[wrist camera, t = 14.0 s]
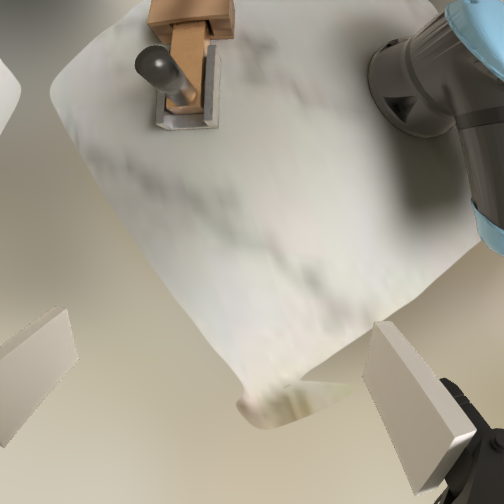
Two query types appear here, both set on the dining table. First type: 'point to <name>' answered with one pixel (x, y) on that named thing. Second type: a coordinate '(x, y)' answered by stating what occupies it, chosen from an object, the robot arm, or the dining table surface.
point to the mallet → (179, 67)
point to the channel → (211, 101)
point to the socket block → (192, 16)
